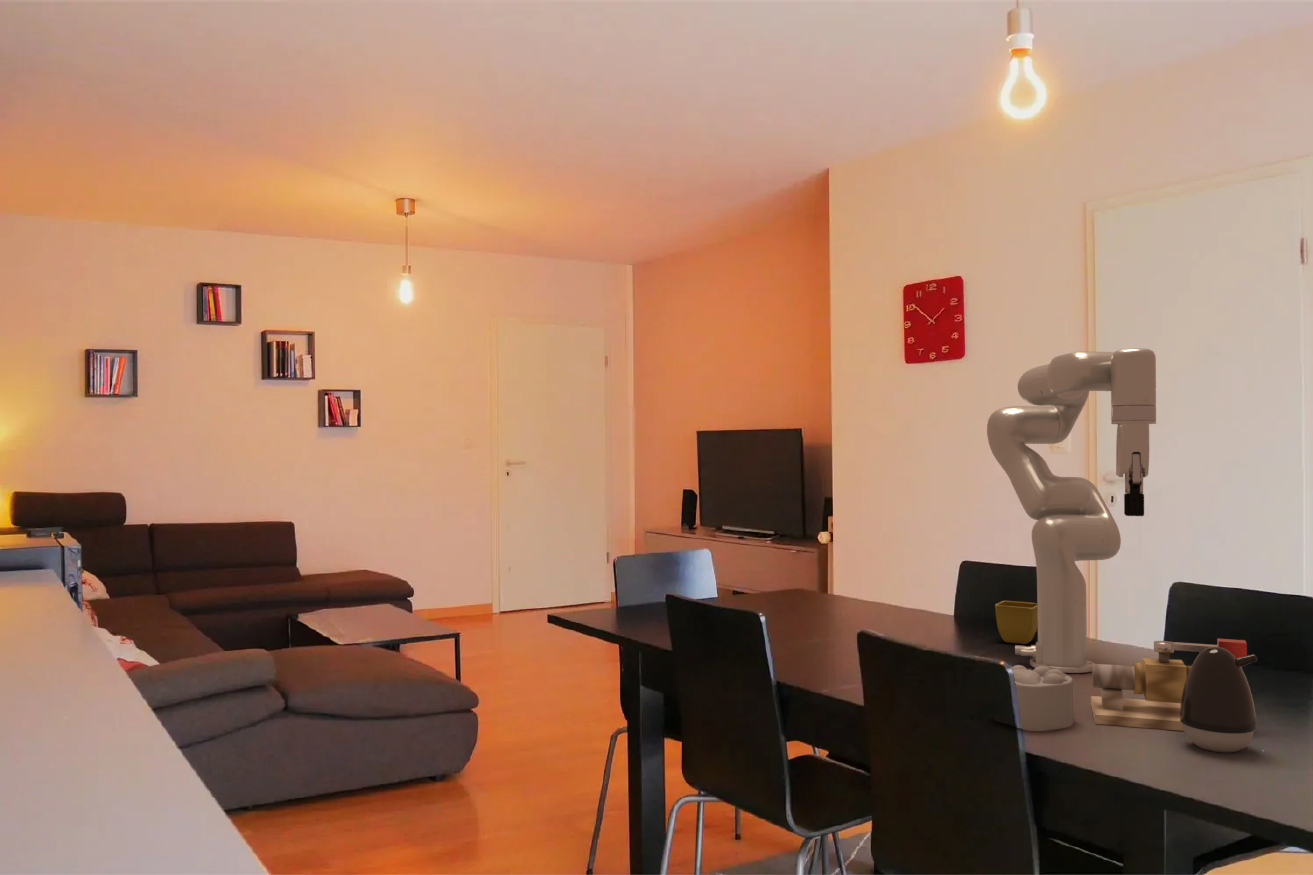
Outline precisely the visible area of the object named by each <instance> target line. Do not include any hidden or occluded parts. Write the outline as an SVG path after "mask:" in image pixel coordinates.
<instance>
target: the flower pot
mask: <svg viewBox="0 0 1313 875" xmlns="http://www.w3.org/2000/svg"><path fill="white" fill-rule="evenodd" d="M994 608H995V619H996V625H997V630H998V632H999V635H1000V637H1001V639H1002V640H1003V641H1004V642H1005V643H1013V644H1022V645H1027V644H1029V643H1030V642H1031V641H1032V640H1033V639H1034V637H1035V635H1036V632H1038V620H1037V603H1035V602H1026V601H1015V600H1013V601H1012V600H1002V601H1000V602H998V603H995V605H994Z"/></svg>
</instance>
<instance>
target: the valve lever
mask: <svg viewBox="0 0 1313 875" xmlns="http://www.w3.org/2000/svg"><path fill="white" fill-rule="evenodd" d="M1247 646H1248V643H1247V641H1246V640H1245V639H1230V638H1217V644H1208V643H1207V644H1205V643H1194V642H1193V643H1191V642H1177V641H1175V642H1174V641H1167V640H1154V641H1153V651H1154V652H1156V653H1158V654H1159V653H1169V654H1173V653H1175V651H1179V652H1181V651H1182V652H1196V653H1198V652H1199V653H1200V652H1201V651H1203V650H1204V649H1206V648H1209V647H1221V648H1224V649H1226V650H1228V651H1230V652H1231V653H1232V654H1233V655H1234V656H1235V658H1239V657H1244V656H1248V654H1247V653H1248V647H1247Z"/></svg>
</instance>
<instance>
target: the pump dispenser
mask: <svg viewBox="0 0 1313 875" xmlns="http://www.w3.org/2000/svg"><path fill="white" fill-rule="evenodd" d="M1257 661H1258V657H1257V656H1256V654H1254V653H1252V654H1249V655H1248V654H1247V656H1244V657H1239V658H1235V656H1234V655H1233V654H1232V653H1231V652H1230V651H1228V650H1226V649H1224V648H1221V647H1209V648H1206V649H1204V650H1203V651H1201V652H1199V653H1198V655H1197V656H1196V657H1195V659H1194V661H1193V663H1192V664H1191V665H1190V666H1191V669H1190V671H1189V673H1188V676H1187V679H1186V682H1185V685H1184V689H1183V693H1182V699H1181V706H1180V721H1181V722H1182V724H1183V728H1184V731H1183V732H1184V733H1185V735H1186V736H1187V738H1188V739H1189V740H1190V741H1191V742H1192V743H1193V744H1194V745H1196V746H1197V747H1199V748H1200V749H1203V750H1206V751H1210V752H1214V753H1215V752H1216V753H1228V754H1229V753H1235V752H1238V751H1241V750H1243V749H1245V748H1247V746H1248V745H1249V744H1250V742H1251V740H1252V738H1253V736H1254V733H1255V731H1256V730H1257V716H1256V708H1255V703H1254V698H1253V695H1252V692H1251V691H1252V690H1251V688H1250V685H1249V681H1248V679H1247V676H1246V674H1245V672H1244V670H1243V668H1244V667H1245V666H1248V665H1250V664H1253V663H1255V662H1257Z"/></svg>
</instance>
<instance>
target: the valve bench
mask: <svg viewBox="0 0 1313 875" xmlns="http://www.w3.org/2000/svg"><path fill="white" fill-rule="evenodd" d="M1191 666H1192V665H1186V664H1185V663H1184V661H1183V660H1182V659H1170V653H1159V652H1158V658H1154V657H1153V658H1151V657H1142V662H1133V663H1132V665H1120V664H1105V663H1104V664H1103V663H1094V664H1092V671H1091V676H1092V678H1091V680H1092V688H1093V689H1094V688H1096V689H1101V695H1099V696H1098V695H1096V696H1095V695H1090V706H1091V710H1092V715H1093V719H1094V724H1096V725H1107V726H1118V727H1119V726H1120V727H1130V728H1143V729H1144V728H1145V729H1155V730H1168V731H1169V730H1170V731H1180V732H1185V731H1184V728H1183V724H1182V722H1181V721H1180V706H1181V699H1182V693H1183V689H1184V685H1185V682H1186V679H1187V676H1188V673H1189V671H1190V669H1191ZM1124 690H1125V691H1133V694H1134V695H1141V696H1142V695H1143V696H1144V699H1139V698H1126V697H1125V698H1124V692H1123V691H1124Z"/></svg>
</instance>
